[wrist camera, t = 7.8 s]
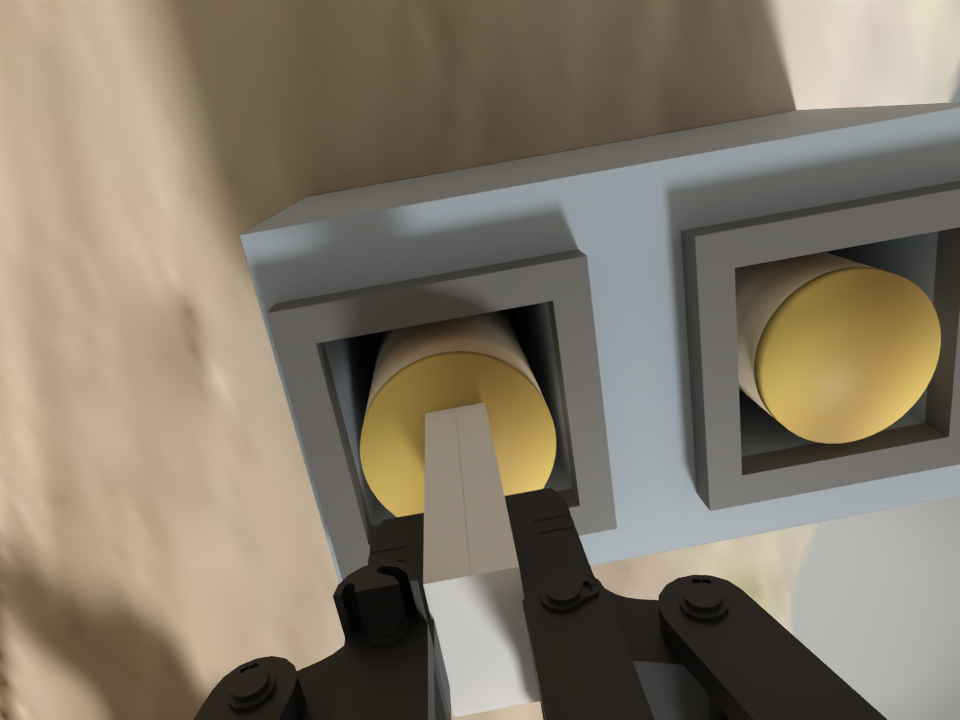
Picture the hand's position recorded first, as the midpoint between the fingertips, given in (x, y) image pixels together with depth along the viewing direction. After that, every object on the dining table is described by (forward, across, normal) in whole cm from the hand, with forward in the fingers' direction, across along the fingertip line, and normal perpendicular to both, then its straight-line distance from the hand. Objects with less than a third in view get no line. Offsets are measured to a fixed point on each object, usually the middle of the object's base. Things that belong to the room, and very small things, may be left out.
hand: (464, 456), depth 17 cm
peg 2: (+11, +11, 0) cm, 15 cm away
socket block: (+13, +5, 0) cm, 14 cm away
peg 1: (+10, 0, 0) cm, 10 cm away
